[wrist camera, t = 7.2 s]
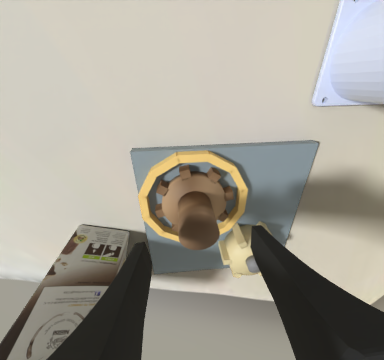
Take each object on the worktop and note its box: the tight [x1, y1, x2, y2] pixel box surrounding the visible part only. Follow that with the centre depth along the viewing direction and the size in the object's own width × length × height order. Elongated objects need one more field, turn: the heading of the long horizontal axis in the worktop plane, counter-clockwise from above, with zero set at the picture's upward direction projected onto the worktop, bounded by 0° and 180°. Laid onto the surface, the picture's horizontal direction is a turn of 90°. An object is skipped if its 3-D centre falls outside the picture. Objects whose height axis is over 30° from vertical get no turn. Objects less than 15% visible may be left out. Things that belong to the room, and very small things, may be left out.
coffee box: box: [0, 225, 129, 360], centre depth 18 cm, size 9×6×16 cm
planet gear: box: [155, 164, 234, 250], centre depth 18 cm, size 9×9×6 cm
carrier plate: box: [130, 140, 319, 278], centre depth 21 cm, size 19×19×5 cm
